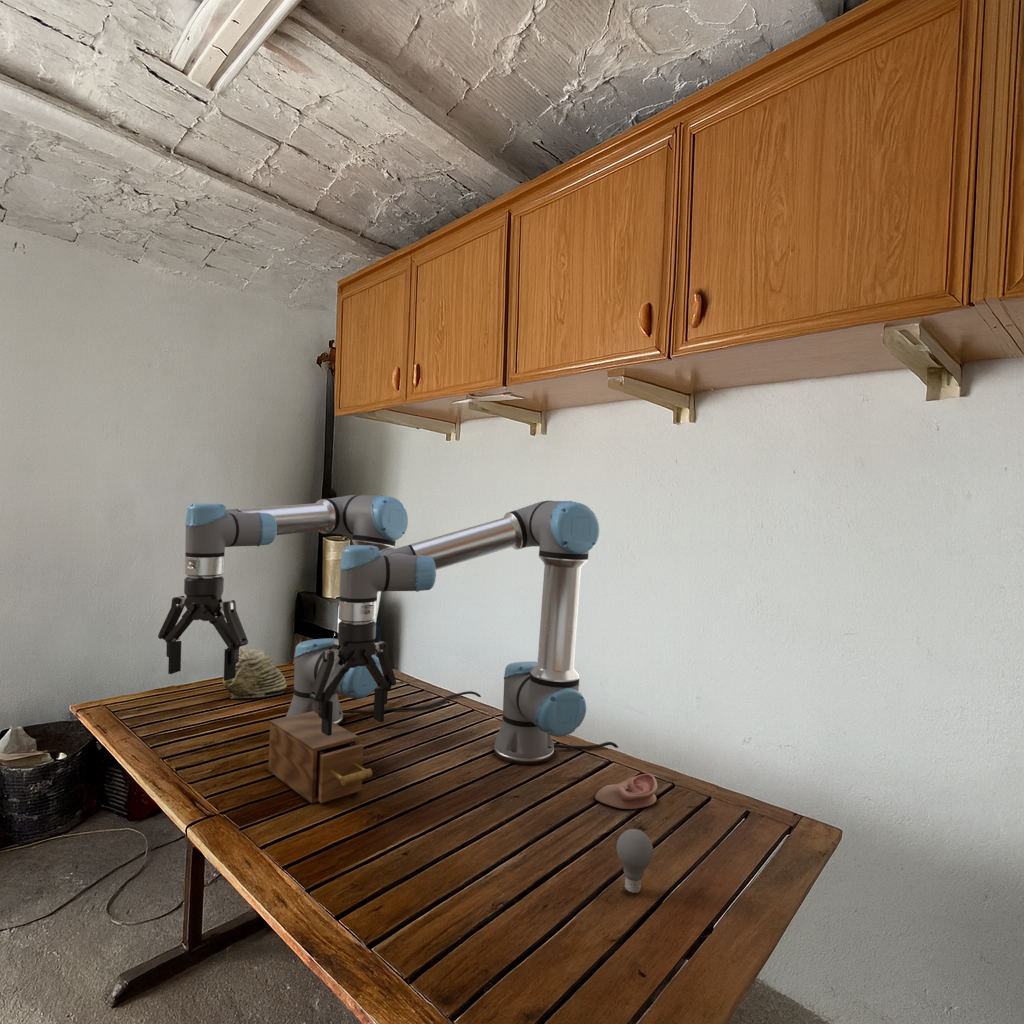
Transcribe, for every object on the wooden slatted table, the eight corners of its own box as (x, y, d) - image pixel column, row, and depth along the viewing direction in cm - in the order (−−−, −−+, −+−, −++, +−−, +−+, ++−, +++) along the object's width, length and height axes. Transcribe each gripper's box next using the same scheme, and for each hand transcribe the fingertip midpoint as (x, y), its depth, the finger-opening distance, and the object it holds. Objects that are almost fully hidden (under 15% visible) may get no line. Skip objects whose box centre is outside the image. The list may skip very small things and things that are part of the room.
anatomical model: (594, 786, 135) (598, 765, 146) (593, 805, 135) (597, 782, 146) (658, 795, 132) (657, 772, 143) (657, 814, 132) (656, 790, 143)
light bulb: (610, 879, 108) (613, 822, 108) (644, 879, 109) (647, 822, 109) (619, 902, 102) (622, 840, 102) (655, 901, 103) (658, 840, 103)
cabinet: (356, 788, 138) (358, 736, 138) (311, 803, 131) (313, 748, 130) (311, 758, 153) (313, 711, 153) (268, 770, 145) (270, 720, 145)
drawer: (377, 800, 131) (379, 754, 131) (336, 815, 125) (338, 766, 124) (317, 760, 149) (318, 720, 149) (278, 771, 143) (280, 729, 143)
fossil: (218, 695, 195) (220, 647, 195) (278, 685, 208) (279, 640, 207) (228, 703, 189) (230, 653, 188) (289, 692, 201) (290, 645, 201)
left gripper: (140, 574, 133) (138, 674, 134) (244, 582, 128) (241, 686, 128) (167, 570, 141) (165, 665, 141) (267, 578, 135) (264, 676, 135)
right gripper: (312, 630, 118) (307, 746, 119) (415, 618, 135) (411, 719, 136) (293, 624, 124) (289, 734, 124) (395, 612, 141) (391, 710, 141)
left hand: (201, 675), depth 135 cm, fingers open, 13 cm apart
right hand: (353, 726), depth 130 cm, fingers open, 11 cm apart
